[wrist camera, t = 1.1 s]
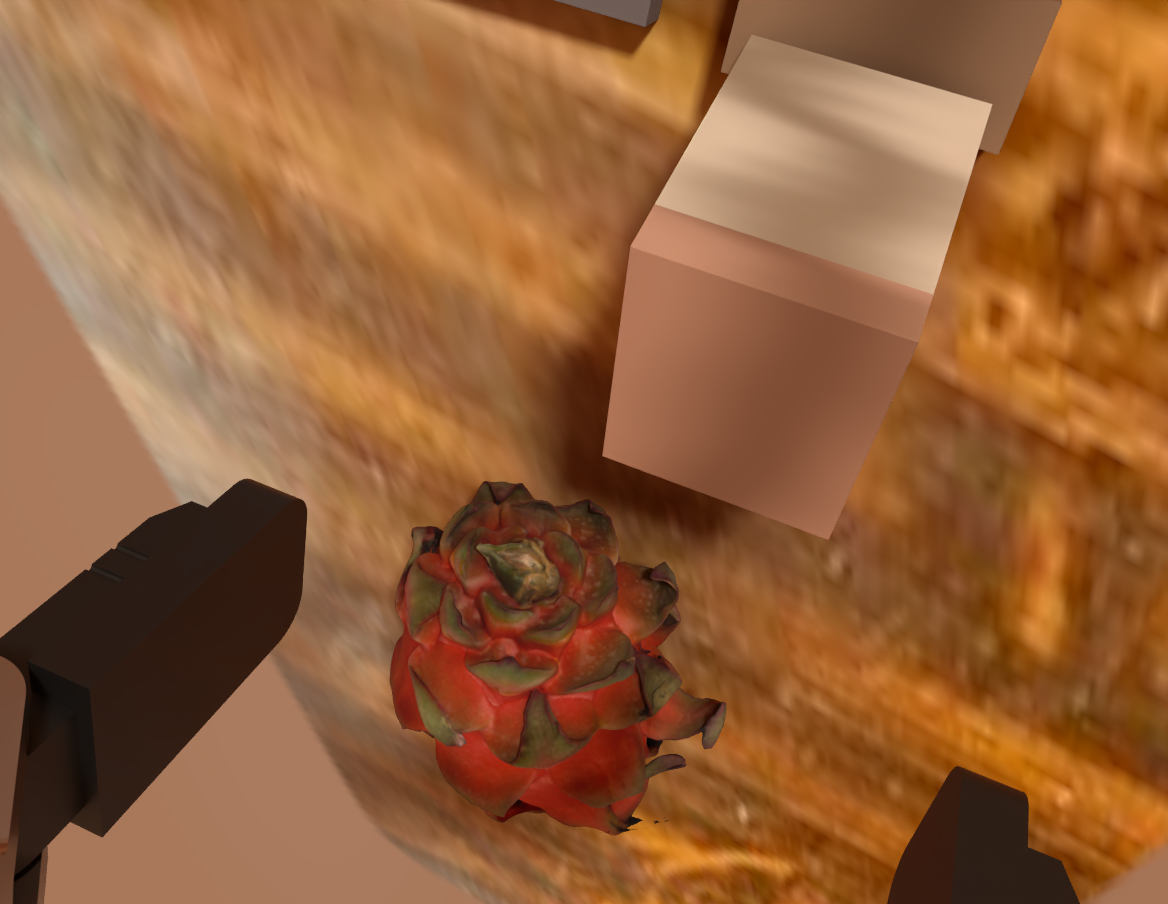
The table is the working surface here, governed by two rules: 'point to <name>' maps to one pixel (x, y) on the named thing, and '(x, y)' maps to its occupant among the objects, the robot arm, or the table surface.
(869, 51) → the block
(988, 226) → the table surface
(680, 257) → the pinkish tan block
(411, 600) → the dragon fruit
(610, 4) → the charcoal mat
